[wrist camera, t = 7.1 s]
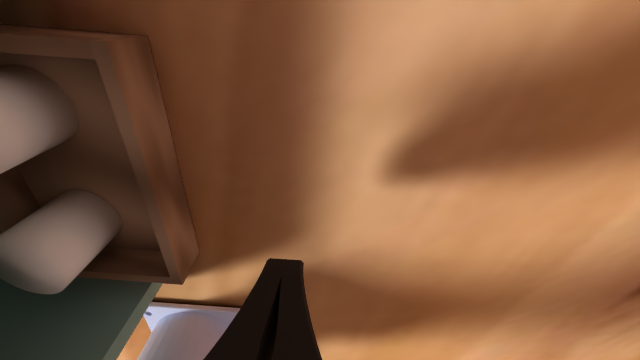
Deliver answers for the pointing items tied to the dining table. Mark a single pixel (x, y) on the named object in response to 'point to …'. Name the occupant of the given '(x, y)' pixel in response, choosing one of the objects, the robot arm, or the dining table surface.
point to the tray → (106, 150)
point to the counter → (72, 319)
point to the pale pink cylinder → (31, 115)
